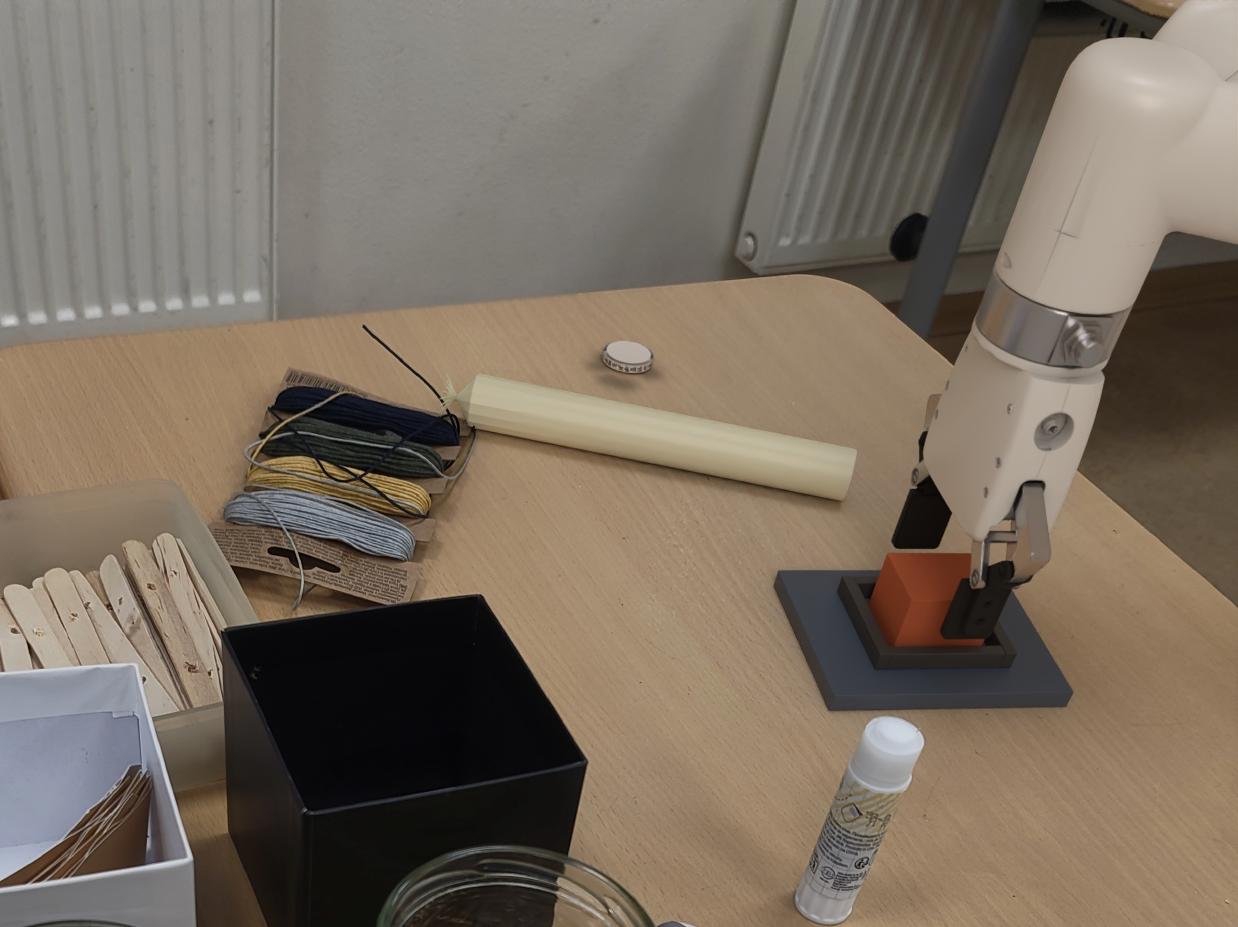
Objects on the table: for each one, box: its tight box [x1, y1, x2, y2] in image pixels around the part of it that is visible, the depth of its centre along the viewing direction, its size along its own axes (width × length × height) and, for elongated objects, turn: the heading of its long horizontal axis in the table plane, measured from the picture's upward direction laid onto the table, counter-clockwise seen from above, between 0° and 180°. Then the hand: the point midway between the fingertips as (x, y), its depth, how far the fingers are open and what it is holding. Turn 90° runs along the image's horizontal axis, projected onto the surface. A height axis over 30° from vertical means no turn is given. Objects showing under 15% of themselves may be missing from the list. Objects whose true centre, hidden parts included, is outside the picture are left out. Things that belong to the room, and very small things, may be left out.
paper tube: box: [438, 372, 858, 502], centre depth 104 cm, size 4×30×4 cm, turn 78°
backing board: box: [773, 569, 1075, 711], centre depth 94 cm, size 16×13×2 cm
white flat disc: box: [601, 339, 654, 374], centre depth 114 cm, size 4×4×1 cm
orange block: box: [868, 552, 985, 647], centre depth 92 cm, size 6×5×4 cm
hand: (938, 589), depth 91 cm, fingers open, 8 cm apart
